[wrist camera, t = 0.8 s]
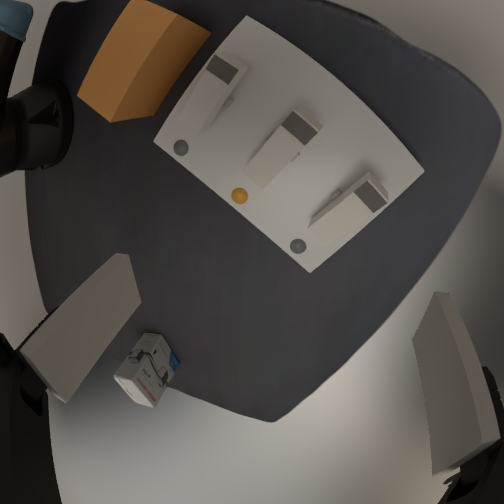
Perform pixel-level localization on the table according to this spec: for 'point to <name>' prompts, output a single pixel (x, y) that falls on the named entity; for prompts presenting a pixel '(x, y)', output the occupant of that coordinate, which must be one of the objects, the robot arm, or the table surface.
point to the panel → (309, 157)
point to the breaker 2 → (282, 147)
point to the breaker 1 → (211, 92)
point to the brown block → (140, 61)
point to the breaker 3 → (349, 209)
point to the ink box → (147, 369)
